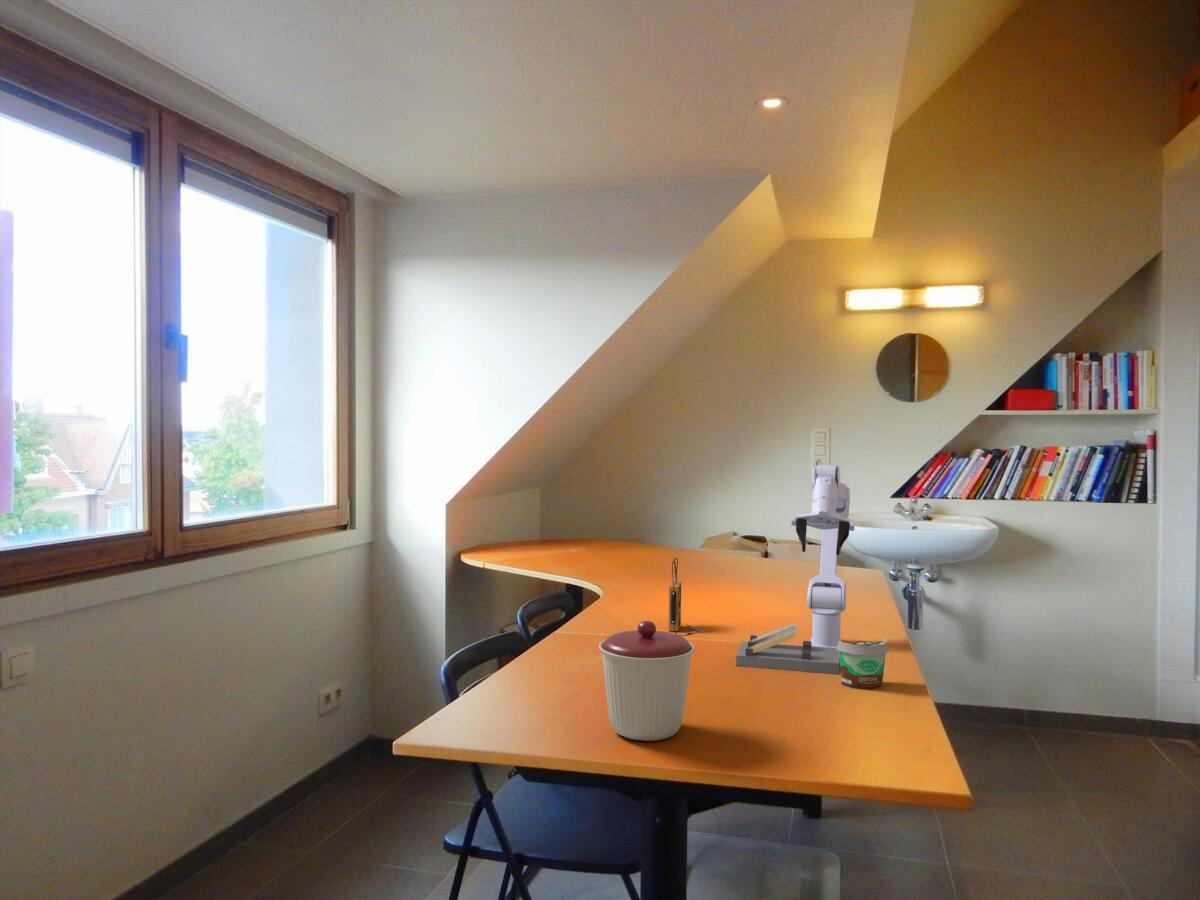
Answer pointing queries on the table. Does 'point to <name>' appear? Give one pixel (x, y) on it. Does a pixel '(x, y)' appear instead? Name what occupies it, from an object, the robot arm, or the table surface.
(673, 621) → the riveted handle with loop
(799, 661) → the mounting plate
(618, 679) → the canister
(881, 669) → the food container
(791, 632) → the bar
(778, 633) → the bar
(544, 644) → the table surface
